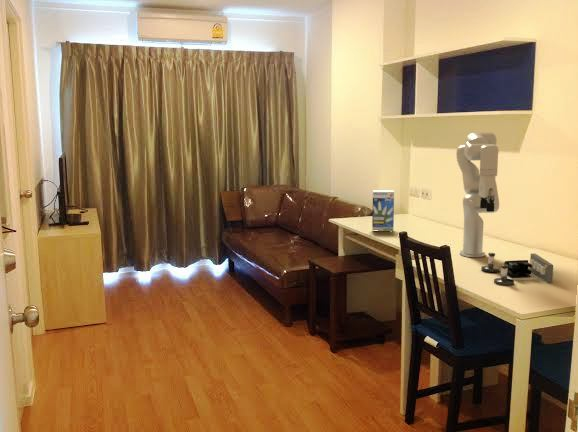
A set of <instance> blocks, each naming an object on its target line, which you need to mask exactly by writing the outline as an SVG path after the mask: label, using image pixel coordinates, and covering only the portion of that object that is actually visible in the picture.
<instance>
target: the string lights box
mask: <svg viewBox="0 0 578 432" xmlns="http://www.w3.org/2000/svg"><path fill="white" fill-rule="evenodd" d="M394 215H395V190H386V189H384V190H383V189H382V190H381V189H380V190H379V189H378V190H377V189H373V191H372V215H371V216H372V217H371V219H372V222H371V223H372V224H371V225H372V227H371V229H372V230H378V231H393V232H394V230H395V229H394V223H395V221H394V220H395V219H394V218H395V217H394Z"/></svg>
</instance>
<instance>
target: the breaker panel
mask: <svg viewBox="0 0 578 432" xmlns="http://www.w3.org/2000/svg"><path fill="white" fill-rule="evenodd" d="M529 263H530V264H532V268H530V267H529V270H531V271H532V272H531V273H532V274H534V275H535V276H537V277H538V278H540V280H542V281H544V282H545V283H546V284H553V278H554V264H552V263H551V262H549V261H548V260H546V259H544V258H543V257H541V256H540V255H539V254H537V253H530V258H529Z"/></svg>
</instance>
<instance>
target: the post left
mask: <svg viewBox="0 0 578 432" xmlns="http://www.w3.org/2000/svg"><path fill="white" fill-rule="evenodd" d="M487 254H488V264H487V265H482V266H481V271H483V272H487V273H488V272H489V273H501V267H498V266H495V257H496V253H494V252H488V253H487Z"/></svg>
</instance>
